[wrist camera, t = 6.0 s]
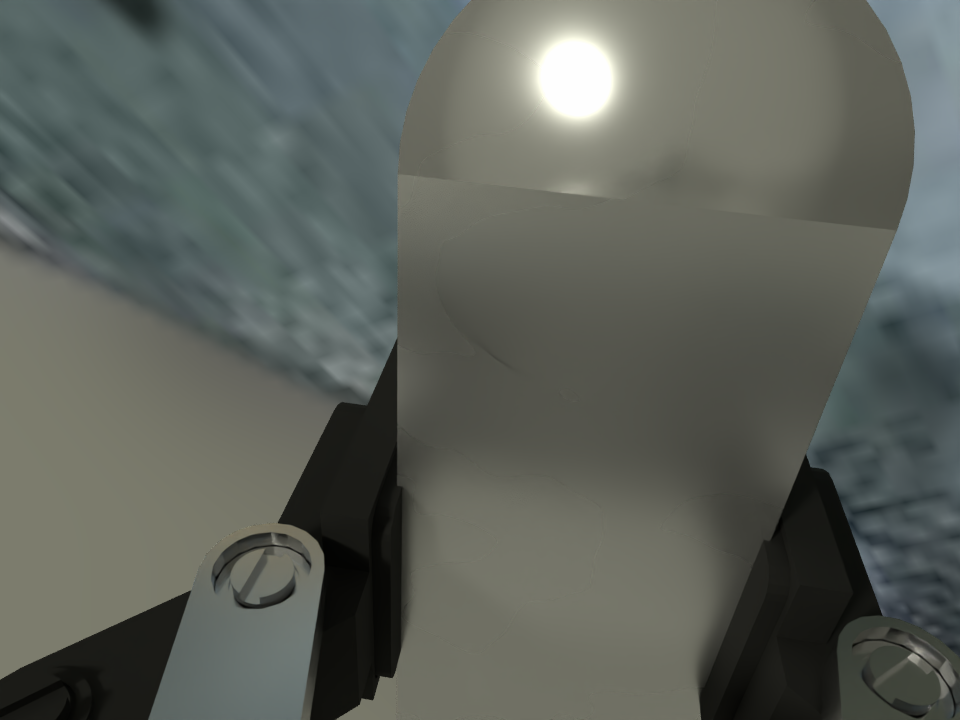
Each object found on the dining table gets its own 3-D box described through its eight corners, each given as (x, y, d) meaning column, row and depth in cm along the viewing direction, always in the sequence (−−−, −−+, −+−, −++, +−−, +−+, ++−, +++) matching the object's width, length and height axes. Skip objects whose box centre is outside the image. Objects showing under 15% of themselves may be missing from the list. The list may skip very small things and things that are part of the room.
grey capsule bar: (860, -88, 8) (1014, -61, 5) (624, 697, 15) (628, 888, 13) (474, -119, 8) (398, -111, 5) (434, 666, 16) (396, 845, 13)
